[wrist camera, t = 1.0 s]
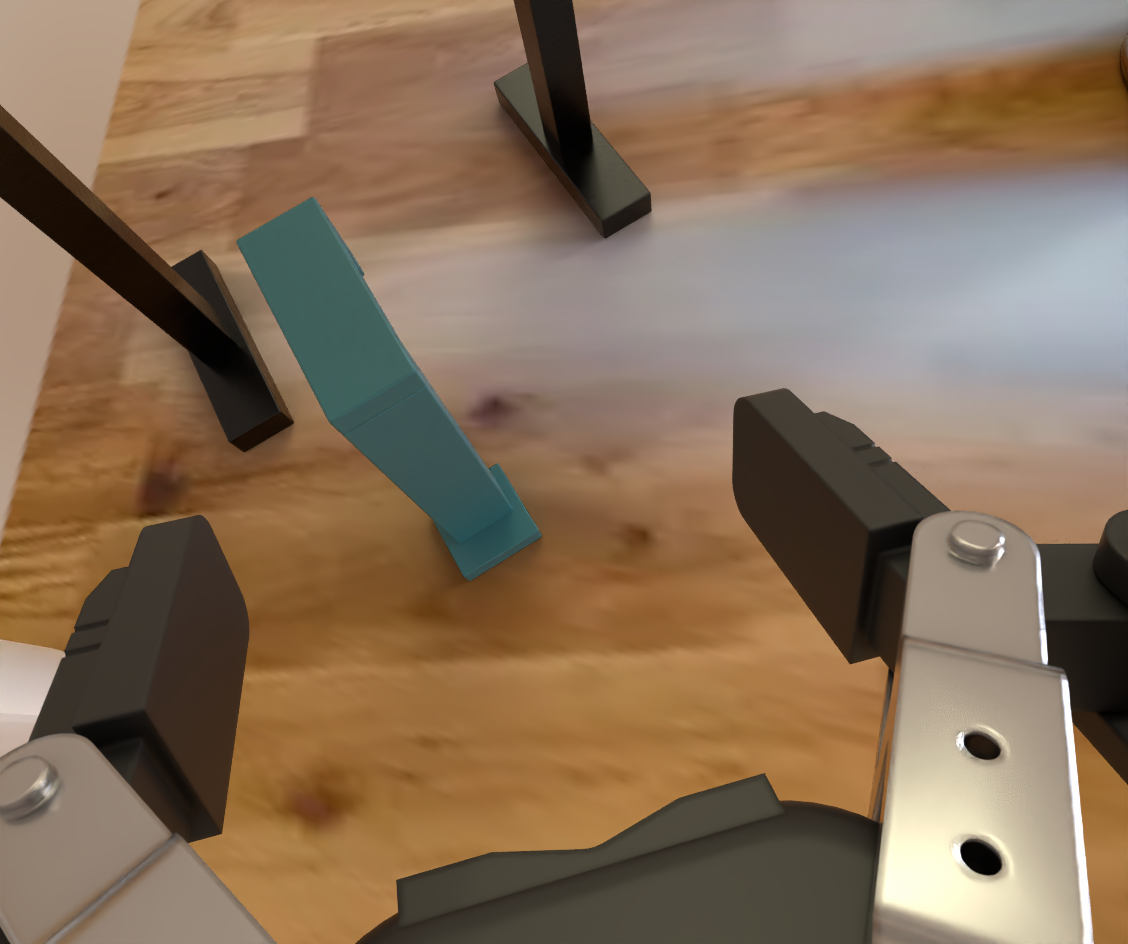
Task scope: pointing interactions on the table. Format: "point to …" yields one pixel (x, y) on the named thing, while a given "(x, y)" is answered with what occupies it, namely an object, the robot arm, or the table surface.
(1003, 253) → the table surface
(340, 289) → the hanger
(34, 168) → the rack
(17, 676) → the eye dropper bottle
